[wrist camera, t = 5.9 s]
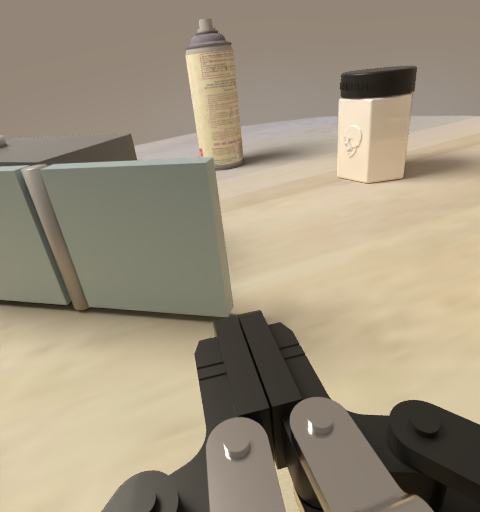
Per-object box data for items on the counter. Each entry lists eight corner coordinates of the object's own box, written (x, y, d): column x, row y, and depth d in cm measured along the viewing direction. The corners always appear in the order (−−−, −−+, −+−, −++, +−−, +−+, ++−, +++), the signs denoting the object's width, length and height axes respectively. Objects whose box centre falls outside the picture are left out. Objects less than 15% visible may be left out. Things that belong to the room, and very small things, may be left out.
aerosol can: (234, 157, 63) (220, 21, 54) (250, 164, 57) (237, 14, 48) (197, 164, 61) (175, 24, 52) (209, 172, 55) (187, 17, 46)
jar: (322, 175, 48) (323, 75, 43) (361, 161, 52) (367, 68, 46) (381, 188, 42) (391, 71, 36) (421, 171, 45) (436, 63, 40)
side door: (234, 308, 23) (213, 156, 19) (228, 322, 22) (205, 163, 18) (-11, 291, 29) (-73, 169, 24) (-26, 301, 28) (-94, 175, 23)
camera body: (156, 243, 34) (128, 123, 29) (84, 296, 27) (31, 149, 22) (37, 229, 41) (-2, 129, 36) (-45, 268, 34) (-109, 151, 29)
